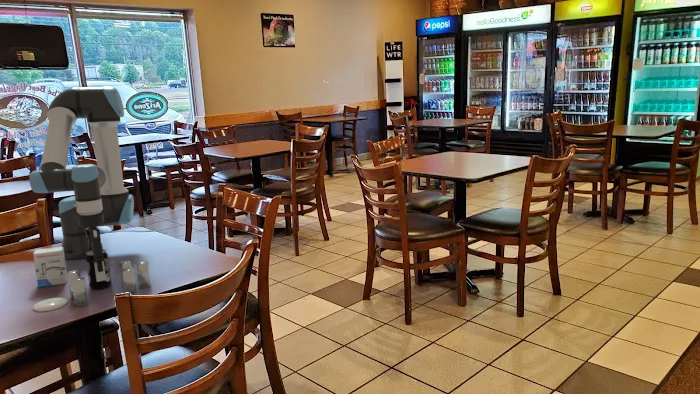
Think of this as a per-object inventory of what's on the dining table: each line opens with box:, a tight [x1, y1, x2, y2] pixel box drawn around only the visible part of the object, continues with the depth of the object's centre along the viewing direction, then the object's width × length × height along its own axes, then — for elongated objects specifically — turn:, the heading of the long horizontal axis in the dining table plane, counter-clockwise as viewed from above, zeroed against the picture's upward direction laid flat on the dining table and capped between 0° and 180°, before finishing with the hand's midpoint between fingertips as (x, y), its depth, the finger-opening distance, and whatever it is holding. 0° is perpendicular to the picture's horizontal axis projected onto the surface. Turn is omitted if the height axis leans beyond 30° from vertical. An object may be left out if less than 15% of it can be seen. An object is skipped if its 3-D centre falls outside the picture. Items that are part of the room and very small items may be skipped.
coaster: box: [32, 297, 68, 313], centre depth 156 cm, size 9×9×1 cm
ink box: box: [33, 246, 68, 288], centre depth 173 cm, size 9×5×12 cm, turn 114°
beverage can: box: [84, 248, 112, 290], centre depth 169 cm, size 7×7×12 cm
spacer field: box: [67, 260, 151, 308], centre depth 163 cm, size 12×23×8 cm, turn 123°
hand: (98, 274), depth 171 cm, fingers open, 13 cm apart
